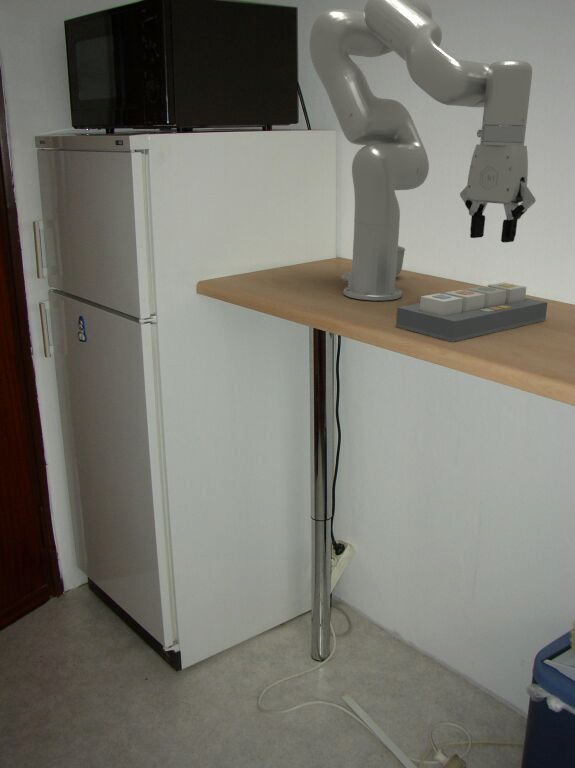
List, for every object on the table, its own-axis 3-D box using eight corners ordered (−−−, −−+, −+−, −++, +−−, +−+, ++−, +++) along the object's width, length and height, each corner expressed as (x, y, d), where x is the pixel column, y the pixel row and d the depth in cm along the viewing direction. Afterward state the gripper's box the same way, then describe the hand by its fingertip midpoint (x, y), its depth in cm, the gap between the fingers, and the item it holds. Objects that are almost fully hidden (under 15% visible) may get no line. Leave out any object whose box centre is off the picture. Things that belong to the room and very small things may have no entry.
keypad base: (395, 326, 139) (397, 306, 138) (489, 308, 156) (491, 289, 155) (452, 342, 130) (454, 320, 129) (545, 320, 147) (547, 301, 146)
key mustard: (486, 300, 148) (487, 284, 147) (502, 297, 152) (503, 281, 151) (508, 305, 145) (510, 288, 144) (524, 302, 148) (526, 286, 147)
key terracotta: (442, 308, 140) (444, 291, 139) (460, 305, 144) (462, 288, 143) (465, 313, 137) (467, 296, 136) (483, 310, 140) (485, 293, 139)
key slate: (419, 312, 136) (420, 295, 135) (438, 309, 140) (439, 292, 139) (442, 318, 133) (444, 300, 132) (461, 314, 136) (462, 297, 135)
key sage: (465, 304, 144) (466, 287, 143) (481, 301, 148) (483, 285, 147) (487, 309, 141) (489, 292, 140) (504, 306, 144) (506, 289, 143)
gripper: (450, 135, 139) (441, 235, 144) (533, 137, 126) (520, 247, 132) (475, 136, 143) (466, 233, 149) (558, 138, 131) (544, 244, 136)
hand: (491, 238), depth 140 cm, fingers open, 6 cm apart
